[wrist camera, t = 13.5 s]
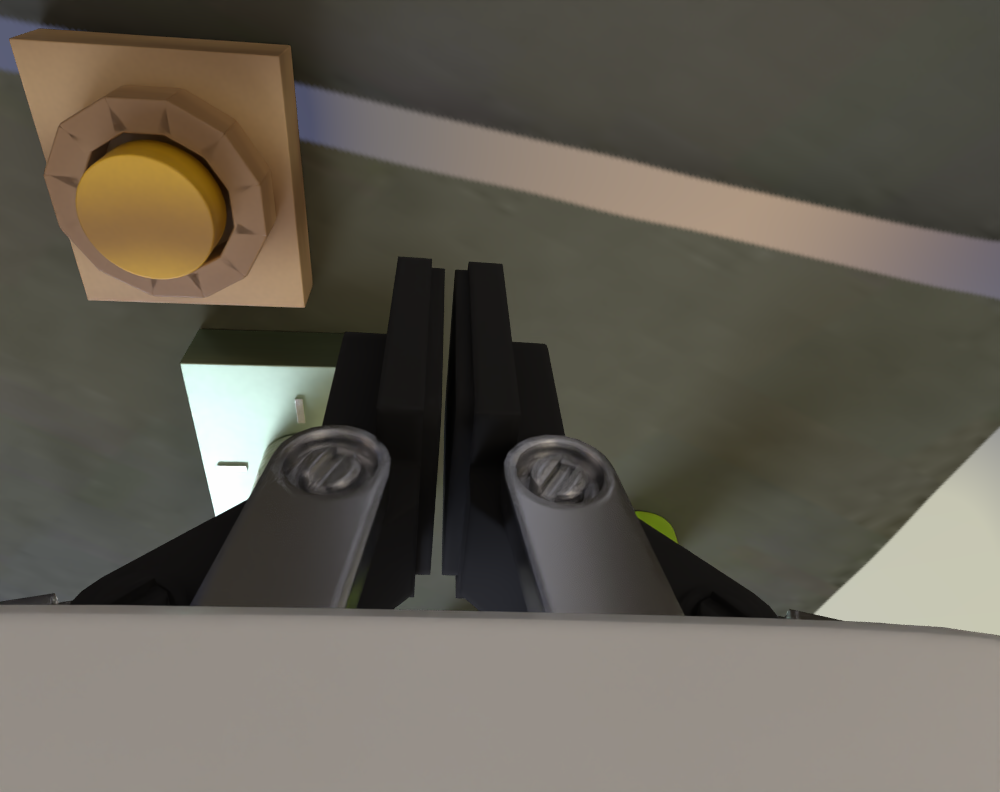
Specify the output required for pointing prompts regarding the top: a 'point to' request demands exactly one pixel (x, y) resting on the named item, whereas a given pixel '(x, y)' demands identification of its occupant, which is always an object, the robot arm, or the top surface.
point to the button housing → (191, 127)
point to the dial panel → (253, 398)
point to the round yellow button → (151, 209)
